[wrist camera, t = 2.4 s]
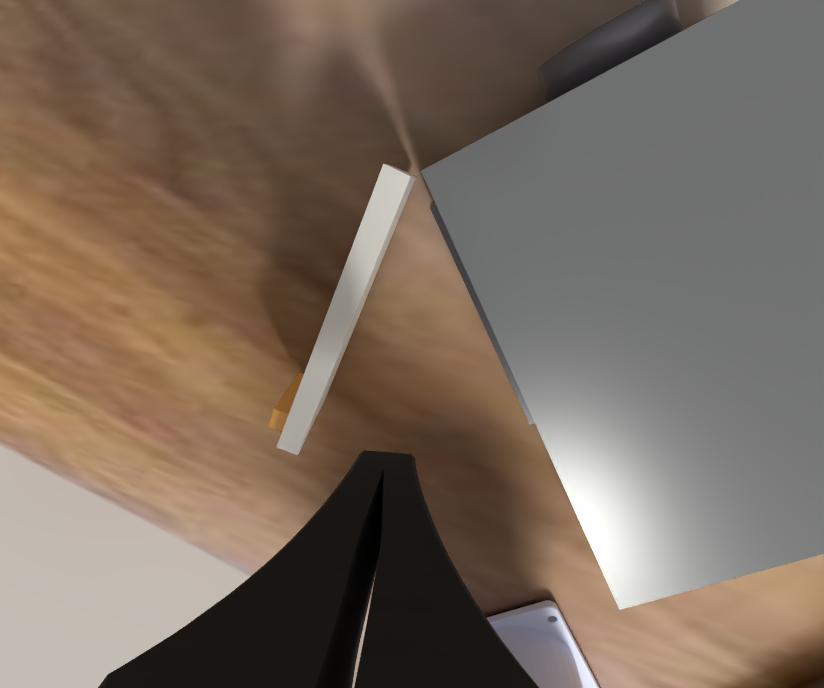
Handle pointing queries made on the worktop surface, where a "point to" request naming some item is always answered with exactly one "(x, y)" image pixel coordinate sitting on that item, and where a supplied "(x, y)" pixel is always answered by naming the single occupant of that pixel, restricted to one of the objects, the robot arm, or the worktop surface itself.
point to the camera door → (342, 310)
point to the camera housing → (664, 285)
